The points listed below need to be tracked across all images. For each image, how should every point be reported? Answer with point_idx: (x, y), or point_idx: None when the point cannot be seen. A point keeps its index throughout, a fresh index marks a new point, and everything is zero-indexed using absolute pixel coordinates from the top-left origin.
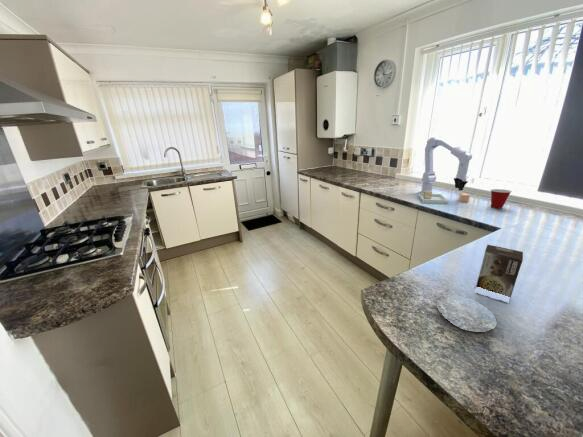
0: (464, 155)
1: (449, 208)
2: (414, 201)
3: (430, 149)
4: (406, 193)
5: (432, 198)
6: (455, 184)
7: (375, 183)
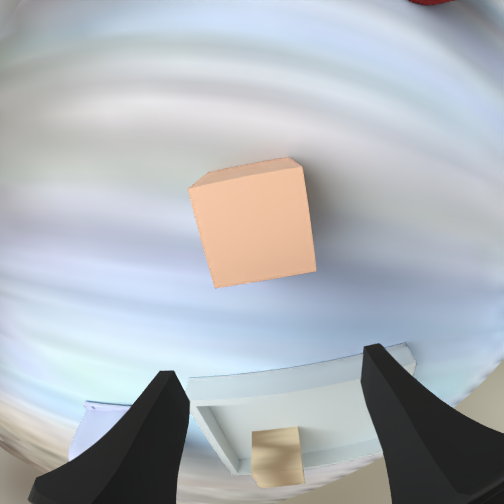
0: None
1: (489, 325)
2: None
3: None
4: (191, 476)
5: (280, 422)
6: (180, 457)
7: None
